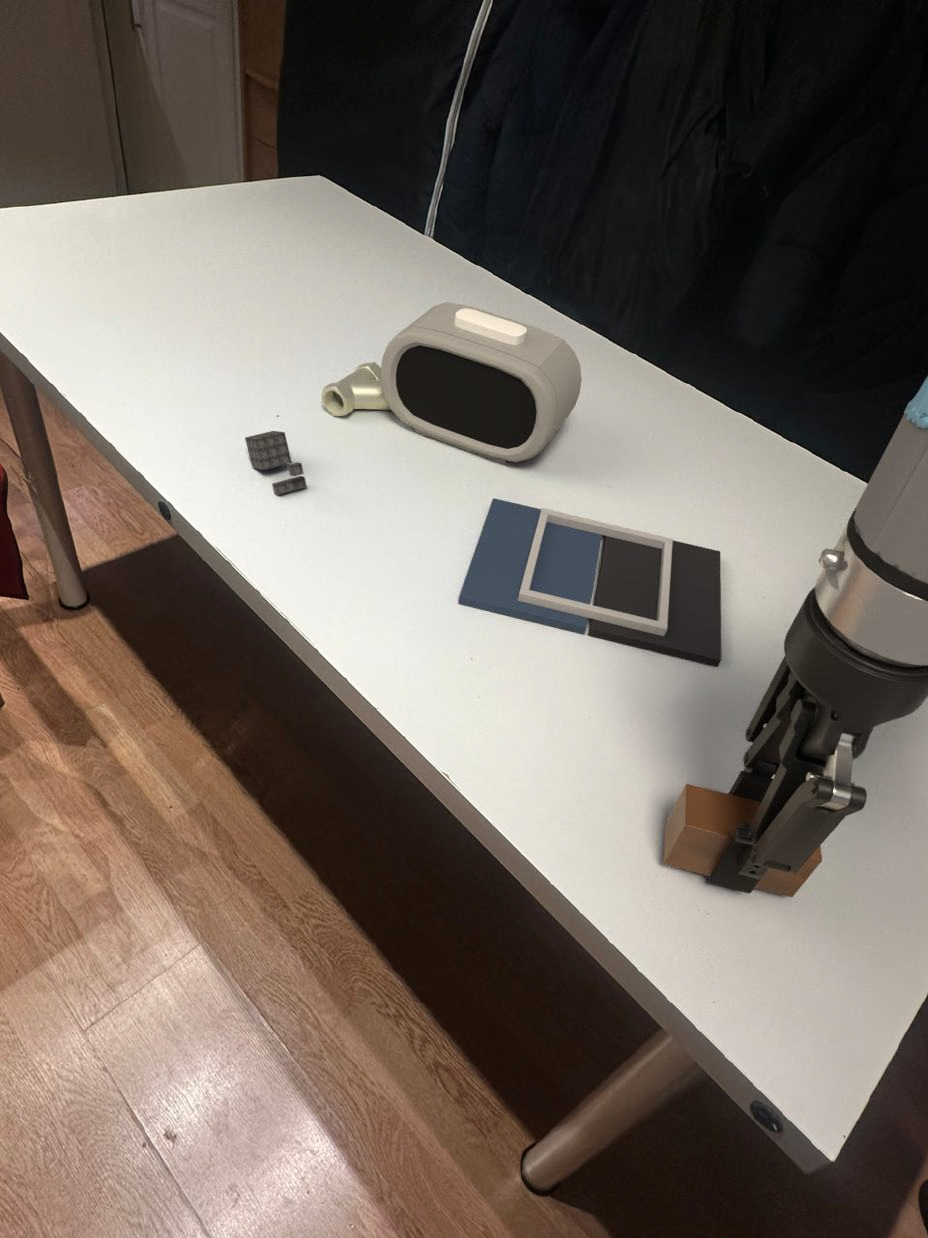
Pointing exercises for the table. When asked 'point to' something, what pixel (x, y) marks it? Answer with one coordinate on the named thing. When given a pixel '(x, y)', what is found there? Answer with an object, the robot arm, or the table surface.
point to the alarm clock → (481, 381)
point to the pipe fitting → (356, 391)
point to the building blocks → (275, 459)
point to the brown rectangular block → (719, 836)
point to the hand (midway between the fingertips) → (729, 856)
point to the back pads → (626, 588)
